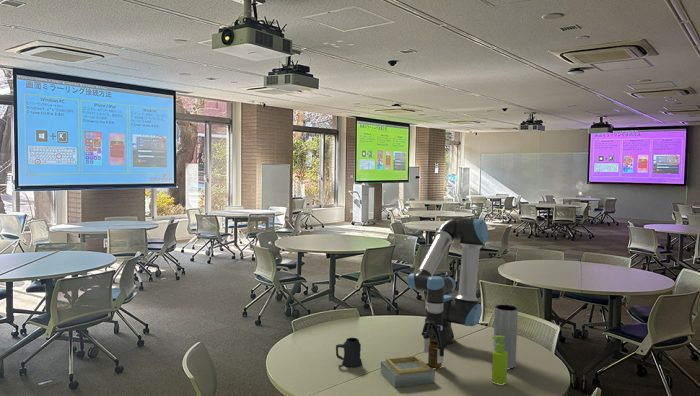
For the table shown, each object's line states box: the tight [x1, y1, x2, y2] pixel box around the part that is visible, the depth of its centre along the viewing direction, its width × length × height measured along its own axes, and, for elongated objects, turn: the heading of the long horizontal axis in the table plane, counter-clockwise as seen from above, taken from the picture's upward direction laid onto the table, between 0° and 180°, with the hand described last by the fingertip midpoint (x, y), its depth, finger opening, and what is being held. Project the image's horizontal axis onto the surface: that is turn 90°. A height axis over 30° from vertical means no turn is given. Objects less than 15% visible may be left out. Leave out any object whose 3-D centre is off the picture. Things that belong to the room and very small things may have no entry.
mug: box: [335, 337, 363, 368], centre depth 240 cm, size 12×9×11 cm
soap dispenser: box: [490, 335, 508, 384], centre depth 221 cm, size 6×7×20 cm
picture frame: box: [380, 355, 436, 389], centre depth 227 cm, size 18×19×6 cm
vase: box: [492, 304, 519, 368], centre depth 241 cm, size 10×10×27 cm
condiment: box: [425, 339, 443, 371], centre depth 239 cm, size 7×8×12 cm
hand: (433, 357), depth 239 cm, fingers open, 13 cm apart
